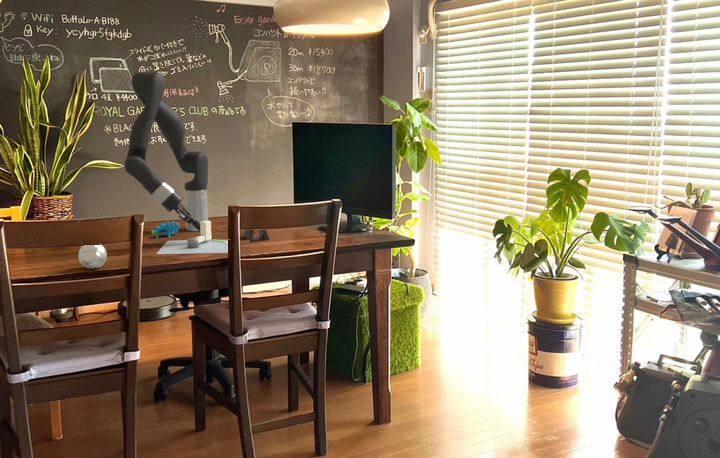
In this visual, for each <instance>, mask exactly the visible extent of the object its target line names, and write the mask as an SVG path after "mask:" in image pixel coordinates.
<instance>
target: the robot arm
mask: <svg viewBox="0 0 720 458" xmlns="http://www.w3.org/2000/svg"><path fill="white" fill-rule="evenodd" d="M131 85H132V89H133V91H134V93H135V95H136V96H137V98H138V99H139V100H140V101H141V102H142V104H143V106H144V107H143V108H142V111H140V113H139V114H138V116H137V117H136V119H135V121H134V122H133V124H132V126H131V131H130V135H129V140H128V152H127V155H126V159H125V161H124V169H125V172H126V173H127V174H128V175H129V176H132V177H133V178H134V179H135V180H137V182H139V184H141V186H142V187H143V188H144V189H145V190H146V191H147V192H148V193H149V194H150V196H152V197H153V199H155V201H157V202H158V204H160V205H161V206H162V207H163V208H164V209H165V210H166V211H167V212H168V213H171V212H172V211H173V210H174V211H175V212H176V215H177V216H178V218H179V219H181V221H182V220H183V221H184V222H185V227H186V228H185V229H186V231H189V232H200V222H202V221H209V207H208V205H209V204H208V203H209V202H208V183H209V160H208V156H207V154H206V153H205V152H204V151H194V150H193V151H192V150H191V151H190V150H189V149H188V148H187V146H186V145H185V143H184V141H185V137H186V136H185V135H186V126H185V124H184V123H183V120H182V119H181V117H180V115H179V114H178V112H176V110H174V109H173V108H172V107H171V106H170V105H168V104H167V103H165V101H163V100H162V99H163V97H164V95H165V90H166V79H165V77H164V75H163V74H162V73H161V72H156V71H154V72H153V71H137V72H135V73H134V74H133V75H132V77H131ZM154 122H155V123H156V125H157V127H158V129H159V131H160V133H161V134H162V135H163V137H164V138H165V140H166V142H167V144H168V145H169V148H170V149H171V151H172V153H173V154H174V155H173V156H174V157H175V159H176V162H177V164H178V166H179V168H180V169H181V171H183V172H184V173H186V174H194V175H193V179H192V180H189V181H186V182H185V183H184V197H183V196H182V195H180V193H179V192H178V191H176V190H175V188H173V187H172V186H171V185H170V184H169V183H167V182H166V181H165V180H164V179H163V178H162V177H160V176H159V175H158V174H157V173H156V172H155V171H154V170H153V169H152V168H151V167H150V166H149V165H148V163H146V158H147V151H148V148H149V144H150V139H151V134H152V133H151V132H152V129H153V125H154ZM183 200H184V201H185V202H184V204H182V203H181V202H182V201H183Z"/></svg>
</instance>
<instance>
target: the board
mask: <svg viewBox="0 0 720 458" xmlns="http://www.w3.org/2000/svg"><path fill="white" fill-rule="evenodd" d="M228 240H229V239H214V238H213V239H210V240H207V241H202V242H200V243H199V247H197V248H188V246H187V239H186V240H183V239H182V240H178V239H177V240H167V241H166V242H165V243H164V244H163V245H162V247H160V249H159V250H158V251H157V252H156V255H178V254H179V255H182V254H185V255H186V254H189V255H190V254H192V255H193V254H229V253H228Z"/></svg>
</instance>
